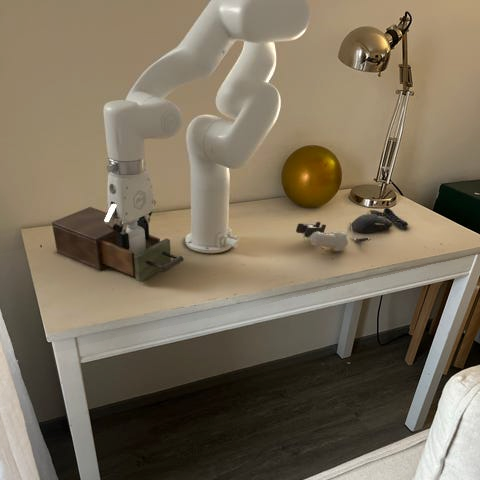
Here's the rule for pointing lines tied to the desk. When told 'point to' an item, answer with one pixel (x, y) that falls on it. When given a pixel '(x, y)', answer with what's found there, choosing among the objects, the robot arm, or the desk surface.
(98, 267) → the cabinet
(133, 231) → the eye dropper bottle
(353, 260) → the desk surface
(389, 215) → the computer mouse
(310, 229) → the clip-on lamp
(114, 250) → the drawer
